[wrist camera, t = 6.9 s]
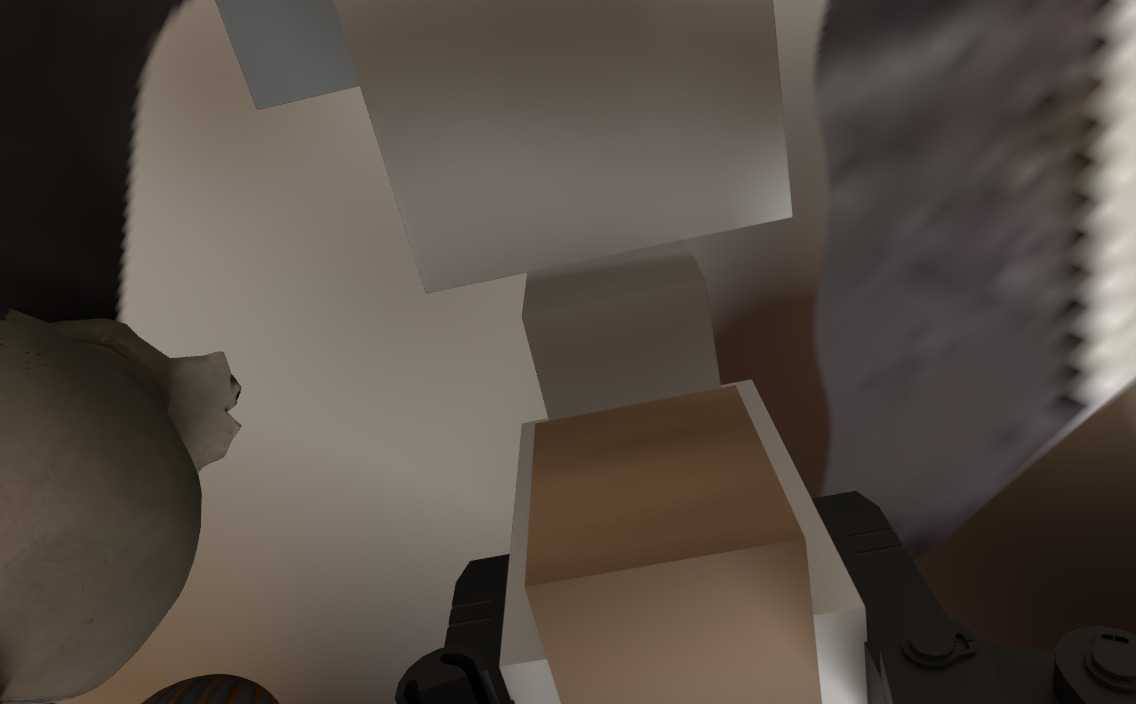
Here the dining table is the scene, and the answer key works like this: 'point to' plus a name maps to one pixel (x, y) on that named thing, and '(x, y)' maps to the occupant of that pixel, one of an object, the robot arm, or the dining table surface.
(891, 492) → the dining table surface
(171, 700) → the vase
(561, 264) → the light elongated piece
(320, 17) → the mat
